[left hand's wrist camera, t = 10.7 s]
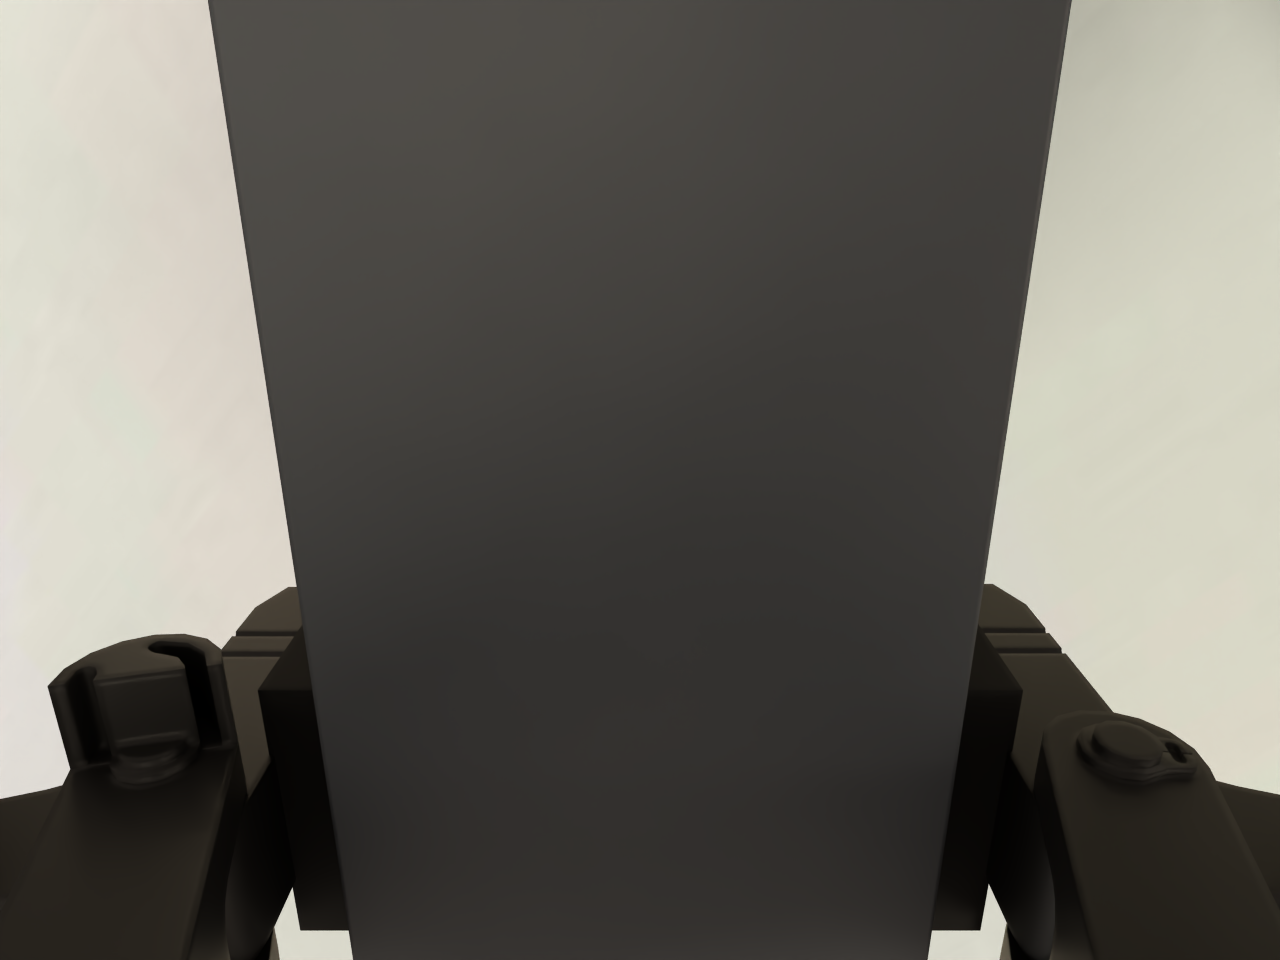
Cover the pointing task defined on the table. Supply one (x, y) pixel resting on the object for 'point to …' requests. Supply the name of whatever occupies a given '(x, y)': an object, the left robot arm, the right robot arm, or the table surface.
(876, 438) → the bar
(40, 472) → the table surface
